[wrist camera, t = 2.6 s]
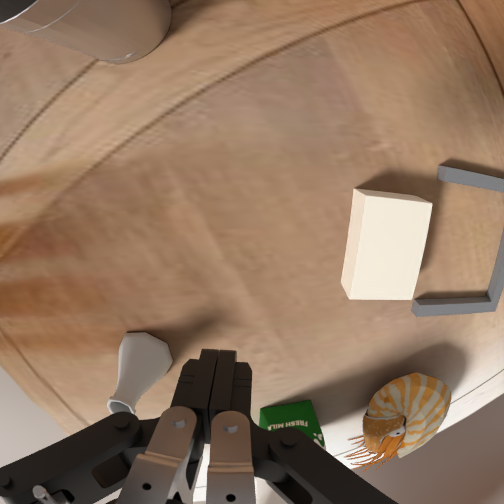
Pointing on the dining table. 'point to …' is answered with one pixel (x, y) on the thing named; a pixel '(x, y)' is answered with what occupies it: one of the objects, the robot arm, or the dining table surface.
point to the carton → (385, 245)
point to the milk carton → (287, 416)
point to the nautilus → (403, 416)
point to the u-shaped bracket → (500, 276)
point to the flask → (138, 369)
